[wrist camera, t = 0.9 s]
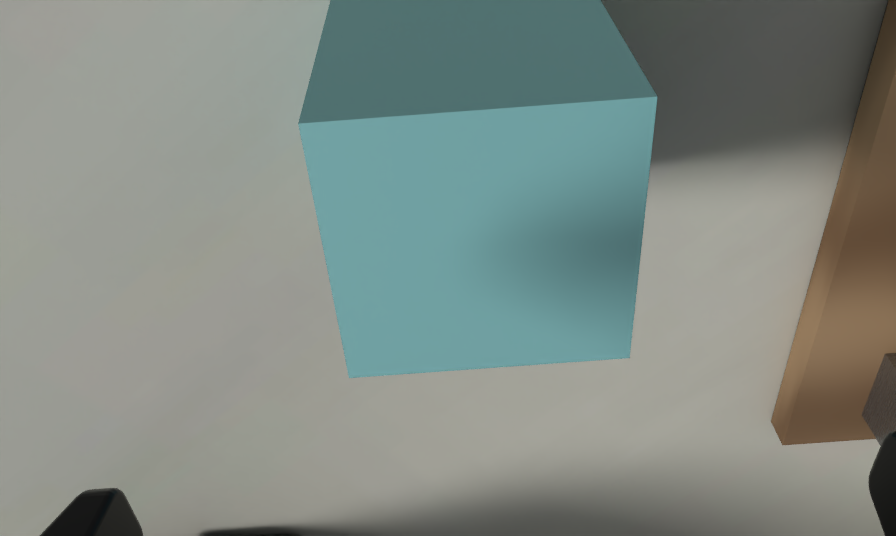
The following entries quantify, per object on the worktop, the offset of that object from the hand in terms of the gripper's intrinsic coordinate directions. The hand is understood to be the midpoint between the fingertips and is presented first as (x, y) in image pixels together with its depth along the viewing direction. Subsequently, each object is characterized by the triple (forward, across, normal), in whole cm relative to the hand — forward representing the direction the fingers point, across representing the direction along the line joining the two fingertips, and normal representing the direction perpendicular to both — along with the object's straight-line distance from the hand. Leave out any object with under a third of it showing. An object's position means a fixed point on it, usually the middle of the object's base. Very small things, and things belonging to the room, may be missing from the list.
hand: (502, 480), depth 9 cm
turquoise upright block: (+11, 0, 0) cm, 11 cm away
